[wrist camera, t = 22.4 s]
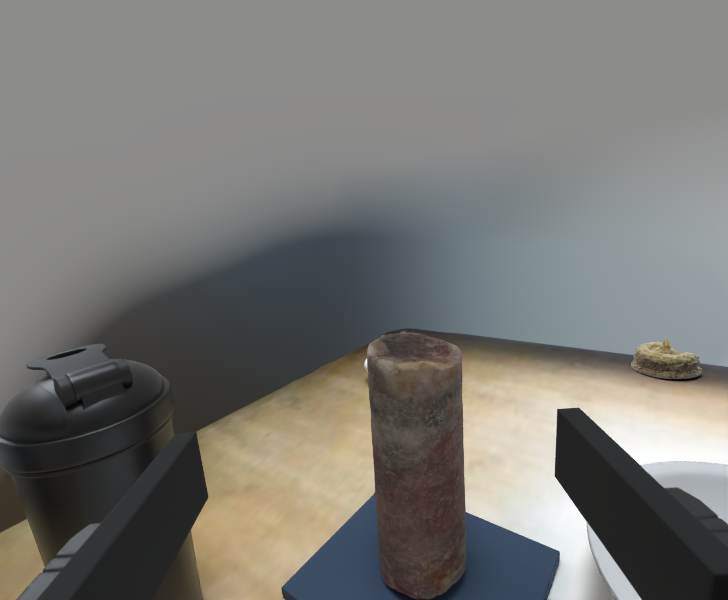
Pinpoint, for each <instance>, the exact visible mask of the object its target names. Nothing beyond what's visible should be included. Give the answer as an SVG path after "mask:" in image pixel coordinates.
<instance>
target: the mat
mask: <svg viewBox="0 0 728 600" xmlns="http://www.w3.org/2000/svg"><path fill="white" fill-rule="evenodd" d="M465 513H466V569H465V571H464V573H463V574H462V576H461V577H460V579H459V580H458V581H457V582H456V583H454V584H453V585H452V586H451V587H450V588H449V589H448V590H447V591H446V592H445V593H443V594H441V595H436V596H435V597H434V598H431V599H414V598H411V597H409V596H407V595H405V594H403V593H401V592H398V591H397V590H396V589H392V588H390V587H389V586H387V584H386V583H385V581H384V579H383V577H382V574H381V571H380V563H379V549H378V535H377V515H376V499H375V494H374V495H373V496H372V497H371V498H370V499H369V500H368V501H367V502H366V503H365V504H364V505H363V506H362V507H361V508H360V509H359V510H358V511H357V512H356V513H355V514H354V515H353V516H352V517H351V518H350V519H349V520H348V521H347V522H346V523H345V524H344V525H343V526H342V527H341V528H340V529H339V530H338V531H337V532H336V533H335V534H334V535H333V536H332V537H331V538H330V539H329V540H328V541H327V542H326V543H325V544H324V545H323V546H322V547H321V548H320V549H319V550H318V551H317V552H316V553H315V554H314V555H313V556H312V557H311V558H310V559H309V560H308V561H307V562H306V563H305V564H304V565H303V566H302V567H301V568H300V569H299V570H298V571H297V572H296V573H295V574H294V575H293V576H292V577H291V578H290V579H289V581H288V582H287V583H286V584H285V585H284V586H283V587H282V594H283V597H284V598H285V599H287V600H547V597H548V594H549V591H550V588H551V585H552V582H553V579H554V576H555V573H556V570H557V567H558V563H559V558H560V552H559V551H557V550H555V549H552V548H550V547H547V546H545V545H543V544H540V543H538V542H536V541H533V540H531V539H528V538H526V537H524V536H521V535H519V534H517V533H514V532H512V531H509V530H507V529H505V528H502V527H500V526H498V525H495V524H493V523H490V522H488V521H486V520H483V519H481V518H478V517H476V516H474V515H471V514H469V513H467V512H465Z"/></svg>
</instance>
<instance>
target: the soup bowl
mask: <svg viewBox="0 0 728 600" xmlns="http://www.w3.org/2000/svg"><path fill="white" fill-rule="evenodd" d="M641 467H642V468H643V469H645V470H646V471H647V472H648V473H649V474H650V475H651V476H652V477H653V478H654V479H655V480H656V481H657V482H658V483H659V484H660V485H662V486H663V487H664V488H674V487H678V488H680V489H682V490H683V491H685V492H687V493H689V494H691V495H692V496H694V497H696V498H698V499H699V500H701V501H702V502H703V503H704V504H705V505H706V506H708V507H709V508H710V509H711V510H712V511H713V512H714V513H716V514H717V515H718V518H719V519H720V518H721V519H722V520H724V521H725V522H726V523H727V524H728V465H724V464H717V463H706V462H689V461H672V462H658V463H651V464H645V465H641ZM587 533H588V539H589V544H590V547H591V551H592V554H593V558H594V560H595V562H596V565H597V567H598V569H599V572H600V574H601V576H602V578H603V579H604V581H605V583H606V585H607V587H608V589H609V590H610V592H611V593H612V595H613V596H614V598H615V600H642V599H641V598H640V597H639V595H638V594H637V592H636V591H635V589H634V588H633V587H632V585H631V584H630V582H629V581H628V579H627V578H626V577H625V575H624V574H623V572H622V571H621V570H620V568H619V567H618V565H617V564H616V562H615V561H614V560H613V558H612V557H611V555H610V554H609V552H608V551H607V550H606V548H605V547H604V545H603V544H602V542H601V541H600V540H599V538H598V537H597V535H596V534H595V533H594V531H593V530H592V528H591V527H590V525H589V524H588V523H587Z"/></svg>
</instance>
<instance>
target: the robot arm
mask: <svg viewBox="0 0 728 600" xmlns="http://www.w3.org/2000/svg"><path fill="white" fill-rule="evenodd" d="M555 477H556V479H557V480H558V481H559V483H560V484H561V486H562V487H563V488H564V490H565V491H566V493H567V494H568V496H569V497H570V498H571V500H572V501H573V503H574V504H575V506H576V507H577V508H578V510H579V511H580V513H581V514H582V515H583V517H584V518H585V520H586V521H587V523H588V524H589V525H590V527H591V528H592V530H593V531H594V533H595V534H596V535H597V537H598V538H599V540H600V541H601V542H602V544H603V545H604V547H605V548H606V550H607V551H608V552H609V554H610V555H611V557H612V558H613V560H614V561H615V562H616V564H617V565H618V567H619V568H620V570H621V571H622V572H623V574H624V575H625V577H626V578H627V579H628V581H629V582H630V584H631V585H632V587H633V588H634V589H635V591H636V592H637V594H638V595H639V597H640V598H641V599H642V600H728V524H727V523H726V522H725V521H724V520H722V519H721V518H720V519H719V518H718V515H717V514H716V513H714V512H713V511H712V510H711V509H710V508H709V507H708V506H706V505H705V504H704V503H703V502H702V501H701V500H699V499H698V498H696V497H694V496H692V495H691V494H689V493H687V492H685V491H683V490H682V489H680V488H678V487H674V488H664V487H663V486H662V485H660V484H659V483H658V482H657V481H656V480H655V479H654V478H653V477H652V476H651V475H650V474H649V473H648V472H647V471H646V470H645V469H643V468H642V467H641V466H640V465H639V464H638V463H637V462H636V461H635V460H634V459H633V458H632V457H631V456H630V455H629V454H628V453H626V452H625V451H624V450H623V449H622V448H621V447H620V446H619V445H618V444H617V443H616V442H615V441H614V440H613V439H612V438H611V437H609V436H608V435H607V434H606V433H605V432H604V431H603V430H602V429H601V428H600V427H599V426H598V425H597V424H596V423H595V422H594V421H592V420H591V419H590V418H589V417H588V416H587V415H586V414H585V413H584V412H583V411H582V410H581V409H580V408H568V409H557V434H556V458H555ZM207 499H208V493H207V487H206V482H205V477H204V471H203V466H202V461H201V455H200V450H199V445H198V439H197V434H196V432H194V433H179V434H175V435H174V436H173V437H172V439H171V440H170V441H169V442H168V443H167V444H166V446H165V447H164V448H163V449H162V450H161V452H160V453H159V454H158V455H157V456H156V458H155V459H154V460H153V461H152V462H151V464H150V465H149V466H148V467H147V468H146V470H145V471H144V472H143V473H142V474H141V476H140V477H139V478H138V479H137V480H136V482H135V483H134V484H133V485H132V486H131V488H130V489H129V490H128V491H127V492H126V493H125V495H124V496H123V497H122V498H121V499H120V501H119V502H118V503H117V504H116V505H115V507H114V508H113V509H112V510H111V511H110V513H109V514H108V515H107V516H106V517H105V519H104V520H103V521H102V522H101V523H94V524H89V525H88V526H87V527H85V528H84V529H83V530H81V531H80V532H79V533H77V534H76V535H75V536H73V537H72V538H71V539H70V540H69V541H68V542H67V543H66V544H65V546H64V547H63V548H62V549H61V550H60V551H59V552H58V553H57V555H56V557H55V559H52V560H51V561H50V562H49V564H48V565H47V566H46V567H45V568H44V569H43V572H42V573H40V574H39V575H38V576H37V577H36V578H35V579H34V580H33V582H32V583H31V584H30V585H29V586H28V587H27V588H26V589H25V591H24V592H23V593H22V594H21V595H20V596H19V597H18V598H17V600H153V599H154V597H155V595H156V593H157V591H158V589H159V587H160V586H161V584H162V582H163V580H164V578H165V576H166V575H167V573H168V571H169V569H170V567H171V565H172V563H173V562H174V560H175V558H176V556H177V554H178V552H179V550H180V549H181V547H182V545H183V543H184V541H185V539H186V538H187V536H188V534H189V532H190V530H191V528H192V526H193V525H194V523H195V521H196V519H197V517H198V515H199V513H200V512H201V510H202V508H203V506H204V504H205V502H206V501H207Z"/></svg>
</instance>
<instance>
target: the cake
mask: <svg viewBox="0 0 728 600" xmlns="http://www.w3.org/2000/svg"><path fill="white" fill-rule="evenodd" d="M665 341H666V342H665ZM665 341H664V343H660V342H655V343H652V342H650V343H648V344H643V345H641V346H639V347H638V348H637V349H636V353H634V355H633V356H635V357H634V358H635V359H634V360H633V362H632V363H631V367H632V369H634V370H636V371H638V372H639V373H642V374H646V375H648V376H653V377H658V378H664V379H687V378H693V377H697V376H699V375H701V373H702V370H701V369H702V368H700V367H699V366H700V361H699V360H698V358H699V357H697V356H696V355H695V354H690V353H688V352H685V353H676V350H674V349H672V348H671V345H670V343H669V342H668V341H667V340H665Z"/></svg>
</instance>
